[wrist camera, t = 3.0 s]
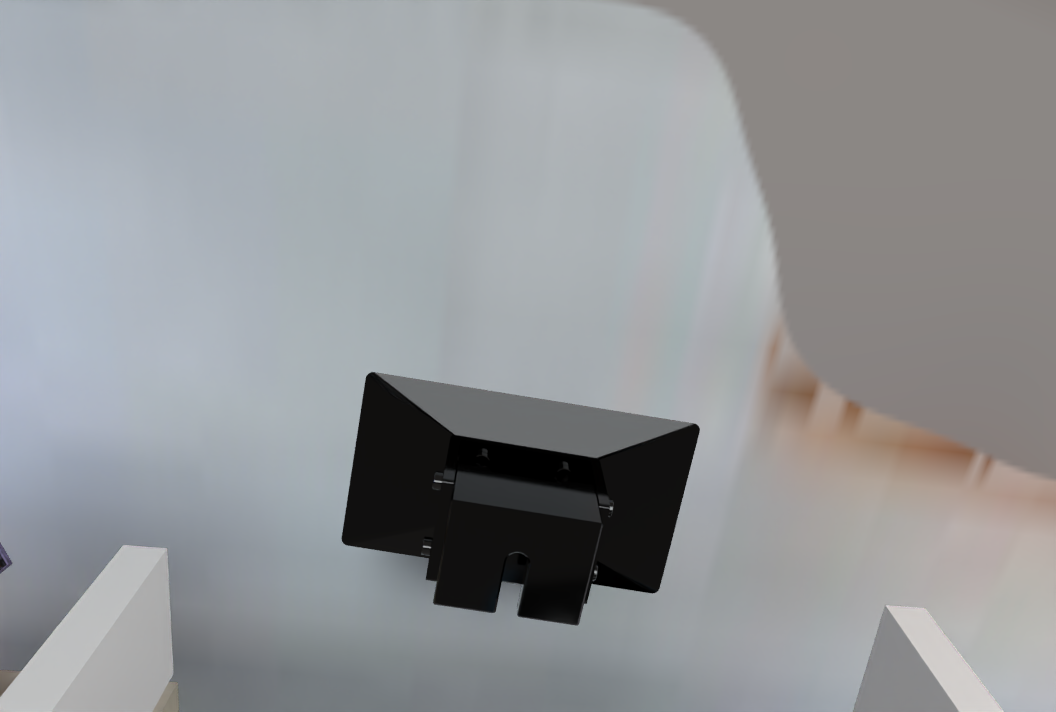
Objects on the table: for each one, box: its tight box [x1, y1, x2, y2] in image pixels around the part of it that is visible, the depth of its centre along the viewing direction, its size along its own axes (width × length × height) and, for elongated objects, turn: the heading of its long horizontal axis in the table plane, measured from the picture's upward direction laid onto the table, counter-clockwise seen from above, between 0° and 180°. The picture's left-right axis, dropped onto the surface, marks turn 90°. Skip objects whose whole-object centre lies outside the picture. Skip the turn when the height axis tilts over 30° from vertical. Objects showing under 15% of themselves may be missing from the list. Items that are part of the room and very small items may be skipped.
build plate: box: [342, 372, 700, 625], centre depth 21 cm, size 12×7×5 cm, turn 79°
